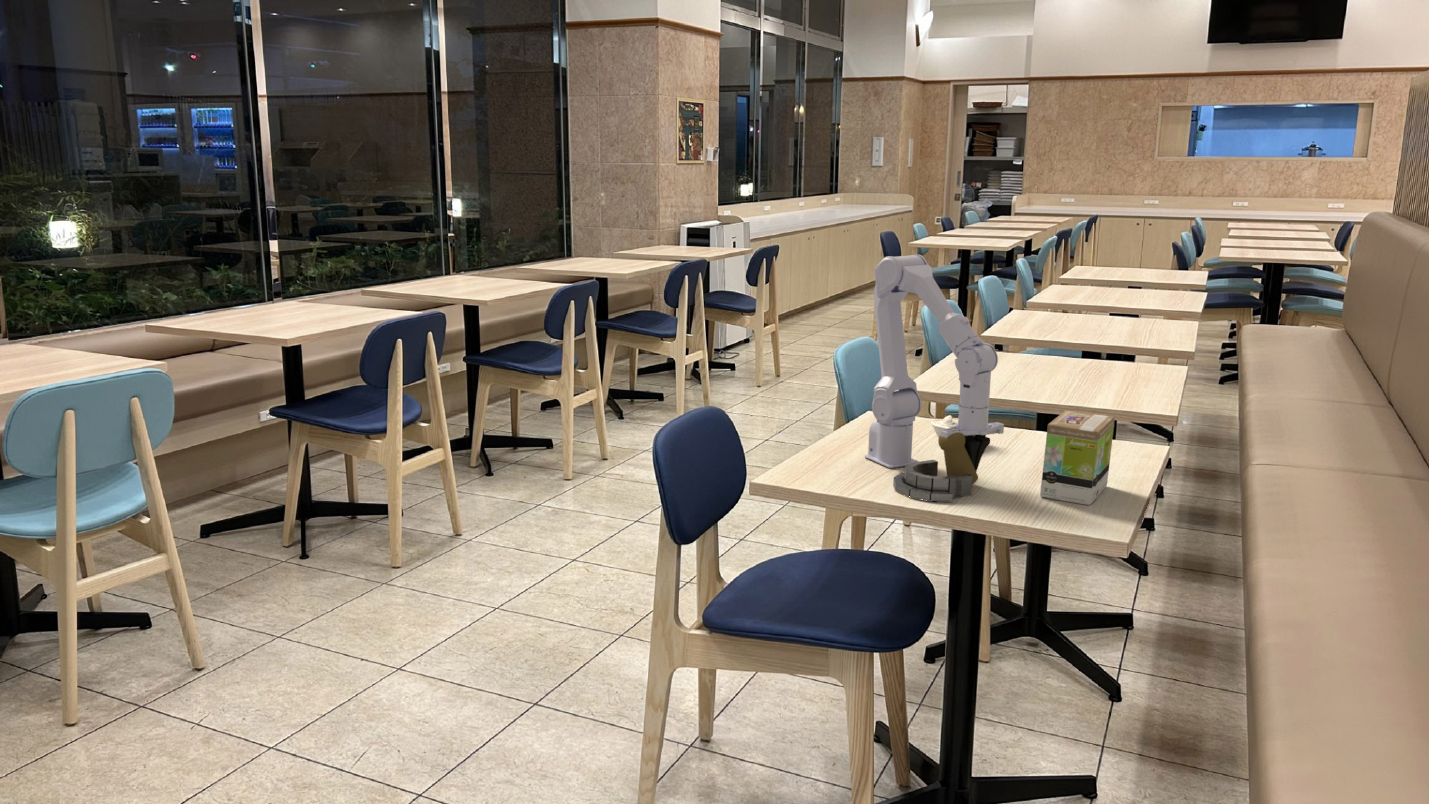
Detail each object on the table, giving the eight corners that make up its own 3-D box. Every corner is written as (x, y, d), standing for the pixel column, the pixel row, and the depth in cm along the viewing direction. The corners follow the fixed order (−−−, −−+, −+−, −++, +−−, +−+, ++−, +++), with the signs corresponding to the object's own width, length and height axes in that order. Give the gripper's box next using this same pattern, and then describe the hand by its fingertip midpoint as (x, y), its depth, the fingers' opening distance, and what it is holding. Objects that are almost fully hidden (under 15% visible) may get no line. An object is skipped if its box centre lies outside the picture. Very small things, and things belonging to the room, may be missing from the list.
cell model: (989, 450, 235) (991, 421, 234) (936, 450, 235) (937, 420, 233) (976, 438, 245) (978, 410, 244) (925, 438, 245) (927, 410, 243)
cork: (979, 484, 206) (966, 436, 201) (949, 491, 207) (935, 443, 203) (976, 469, 211) (963, 422, 207) (946, 476, 212) (933, 429, 208)
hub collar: (878, 483, 210) (879, 464, 209) (926, 475, 215) (927, 457, 214) (927, 506, 196) (929, 486, 195) (977, 498, 202) (979, 478, 201)
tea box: (1092, 507, 197) (1100, 431, 194) (1038, 497, 202) (1044, 423, 199) (1108, 486, 210) (1115, 414, 206) (1057, 478, 215) (1063, 408, 212)
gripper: (958, 413, 200) (954, 481, 203) (1016, 405, 206) (1011, 472, 209) (934, 406, 206) (931, 472, 209) (991, 398, 213) (987, 463, 216)
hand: (970, 471), depth 210 cm, fingers closed, pressing on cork
